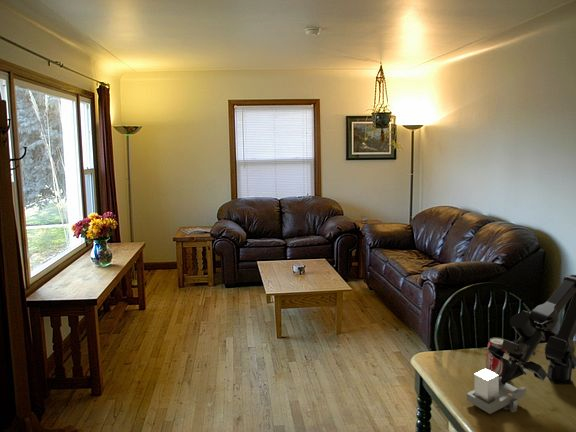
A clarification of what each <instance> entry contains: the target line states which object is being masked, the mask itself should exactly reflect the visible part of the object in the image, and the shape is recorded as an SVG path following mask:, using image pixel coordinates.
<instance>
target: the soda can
mask: <svg viewBox="0 0 576 432" xmlns="http://www.w3.org/2000/svg"><path fill="white" fill-rule="evenodd" d="M504 339H505V338H501V337H491V338H489V341H488V343H487V348H486V359H485V360H486V361H485V362H486V363H485V365H486V366H485V368H486V369H488V370H490V371H491V372H493V373H495V374H497V375H499V376H502V372H503V361H500V360H498V359H496V358H495V357H493V356H492V354H491V353H490V352H489V351H488V350H487V349H488V347H489V346H490V345H492V344H494V345H496V346H499V347H501V346H502V343H503V340H504ZM503 350H504V351H505V352H506V353H507V354H509V353H508V352H507V351H506V350H505V349H503Z"/></svg>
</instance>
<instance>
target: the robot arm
mask: <svg viewBox="0 0 576 432" xmlns="http://www.w3.org/2000/svg"><path fill="white" fill-rule="evenodd" d="M569 301H570V302H569ZM568 302H569V305H568V308H567V310H566V312H565V315H564V318H563V320H562V322H561V324H560V327H559V330H558V332H557V333H556V334H555V335H550V336H549V337H548V340H547V342H546V344H545V346H544V355H545V360H547V361H549V365H548V368H547V372H546V369H544V368H543V367H542V365H540V364H539V363H536V362H534V361H532V360H530V358H531V357H532V356H534V357H535V356H536V349H537V348H538V346H539V344H540V343H541V341H546V336H545V332H544V331H552V330H553V329H554V328H555V327H556V325H557V323H558V321H559V313H560V312H561V311H562V309H564V308H565V306H566V304H567V303H568ZM509 324H510V326H511V327H512V328H513V329H514V331H515V332H516V333H517V334H518V335H519V338H518V339H516V338H515V339H514V340H513V341H510V340H509V339H505V338H503V339H504V340H503V343H502V346H501V347H499V346H496V345H494V344H492V345H490V346H489V347H488V346H487V347H488V349H487V348H486V351H487V350H488V351H489V352H490V353H491V354H492V356H493V357H495V358H496V359H498V360H500V361H503V372H502V375H501V376H502V378H501V383H502V384H506V383H509V382H511V381H512V380H515V379H516V378H518V377H520V376H523V375H524V376H526V375H527V371H529V372H531V373H533V375H534V377H535V378H536V379H539V380H540V381H545V379H546V377H548V378H549V379H550V380H551V381H552V382H553V383H554V384H563V385H564V384H566V385H567V384H574V381H573V380H572V370H574V369H576V355H575V354H574V353H575V350H576V349H575V348H576V347H575V344H574V338H575V336H576V274H570V275H565V276H564V278H563V281H562V283H560V285H559V286H558V287H557V288H556V290H555V291H554V292H553V293H552V295H550V297H549V298H548V299H547V301H545V302H544V303H542V304H539V305H537V306H536V307H535V308H533V309H532V310H531V311H528V310H527V311H526V310H521V312H518V313H515V314H513V315H512V316H511V317H510V319H509ZM540 329H541V330H544V331H541V330H540ZM503 349H505V350H506V351H507V352H508V354H507V353H506V352H505V351H504V350H503Z"/></svg>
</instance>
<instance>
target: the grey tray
mask: <svg viewBox="0 0 576 432" xmlns="http://www.w3.org/2000/svg"><path fill="white" fill-rule="evenodd" d="M501 378H502V375H500V376H499V399H497V400H495V401H494V402H492V403H490V404H488V403H486V402H484V401H482V400H481V399H479V398H477V397H475V389H473V390H471V391H468V392H467V393H466V401H467V402H469V403H471V404H472V405H474V406H476V407H477V408H479V409H481V410H482V411H484V412H486V413H487V414H489V415H491V414H493V413H495V412H497V411H499V410H501V409H503V408H502V407H504V406H506V405H508V404H510V403H511V400H512V399H517V400H519V399H521V398H523V397H524V396H526V387H524V386H520V387H516V386H514V385H512V384H510V383H509V382H507V383H506V384H502V383H501Z"/></svg>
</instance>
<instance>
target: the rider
mask: <svg viewBox="0 0 576 432" xmlns="http://www.w3.org/2000/svg"><path fill="white" fill-rule="evenodd" d="M499 377H500V375H497V374H495V373H493V372H491V371H490V370H488V369H486V367H485V368H484V369H481V370H479V371H478V372H475V373H474V390H475V397H477V398H479V399H481V400H482V401H484V402H486V403H488V404H490V403H492V402H494V401H495V400H497V399H499Z"/></svg>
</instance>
